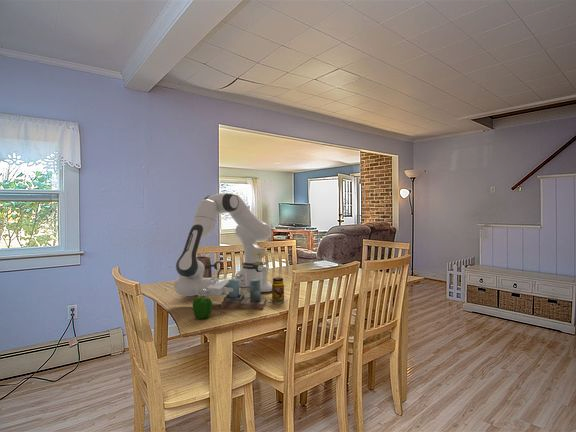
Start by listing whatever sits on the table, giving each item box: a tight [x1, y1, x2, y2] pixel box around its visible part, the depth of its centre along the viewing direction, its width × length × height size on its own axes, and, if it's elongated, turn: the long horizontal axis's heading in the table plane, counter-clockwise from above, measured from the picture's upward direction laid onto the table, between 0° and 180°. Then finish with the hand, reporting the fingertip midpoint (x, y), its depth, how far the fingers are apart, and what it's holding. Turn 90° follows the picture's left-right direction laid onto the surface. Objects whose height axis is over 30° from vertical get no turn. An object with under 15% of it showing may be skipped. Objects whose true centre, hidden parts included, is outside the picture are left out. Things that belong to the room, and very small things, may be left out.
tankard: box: [192, 256, 223, 298], centre depth 189 cm, size 24×17×20 cm
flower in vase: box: [252, 247, 272, 293], centre depth 191 cm, size 13×11×25 cm
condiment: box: [266, 276, 287, 305], centre depth 170 cm, size 7×8×12 cm
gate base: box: [220, 279, 267, 310], centre depth 162 cm, size 20×10×12 cm, turn 86°
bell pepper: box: [192, 295, 213, 320], centre depth 144 cm, size 8×8×10 cm
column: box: [228, 278, 240, 298], centre depth 162 cm, size 5×5×10 cm
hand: (235, 287), depth 162 cm, fingers open, 8 cm apart
